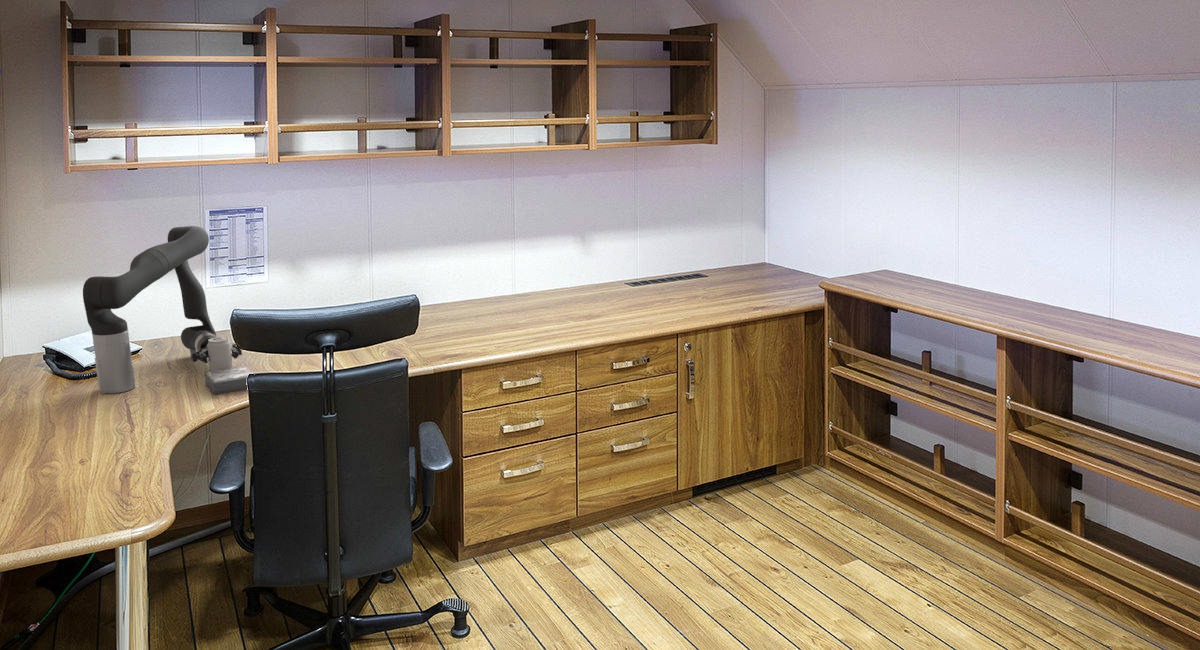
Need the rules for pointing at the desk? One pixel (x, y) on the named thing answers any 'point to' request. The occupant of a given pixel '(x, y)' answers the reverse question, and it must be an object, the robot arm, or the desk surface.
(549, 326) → the desk surface
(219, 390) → the stand
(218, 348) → the beverage can
